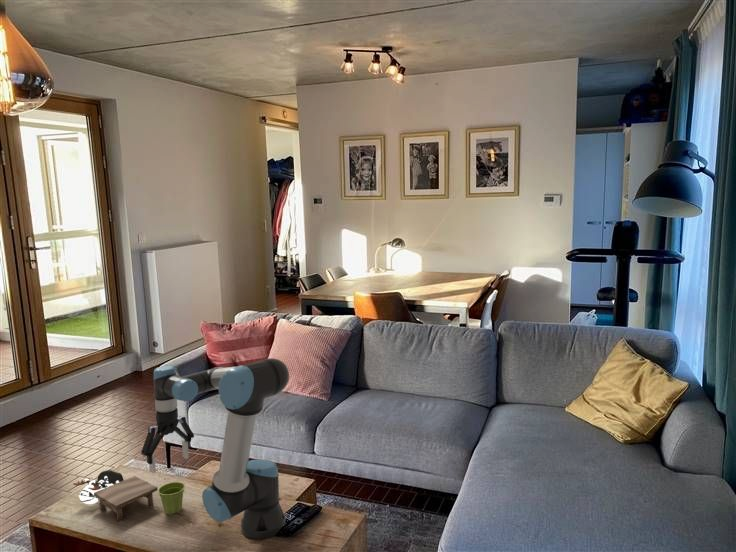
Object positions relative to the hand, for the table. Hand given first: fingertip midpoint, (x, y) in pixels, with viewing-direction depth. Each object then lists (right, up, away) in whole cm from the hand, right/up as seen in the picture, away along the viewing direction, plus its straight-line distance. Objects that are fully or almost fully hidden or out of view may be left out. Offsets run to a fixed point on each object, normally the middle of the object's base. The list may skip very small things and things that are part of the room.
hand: (169, 464), depth 197 cm
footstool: (-18, -18, +4) cm, 25 cm away
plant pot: (+1, -18, +2) cm, 18 cm away
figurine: (-32, -18, +13) cm, 39 cm away
